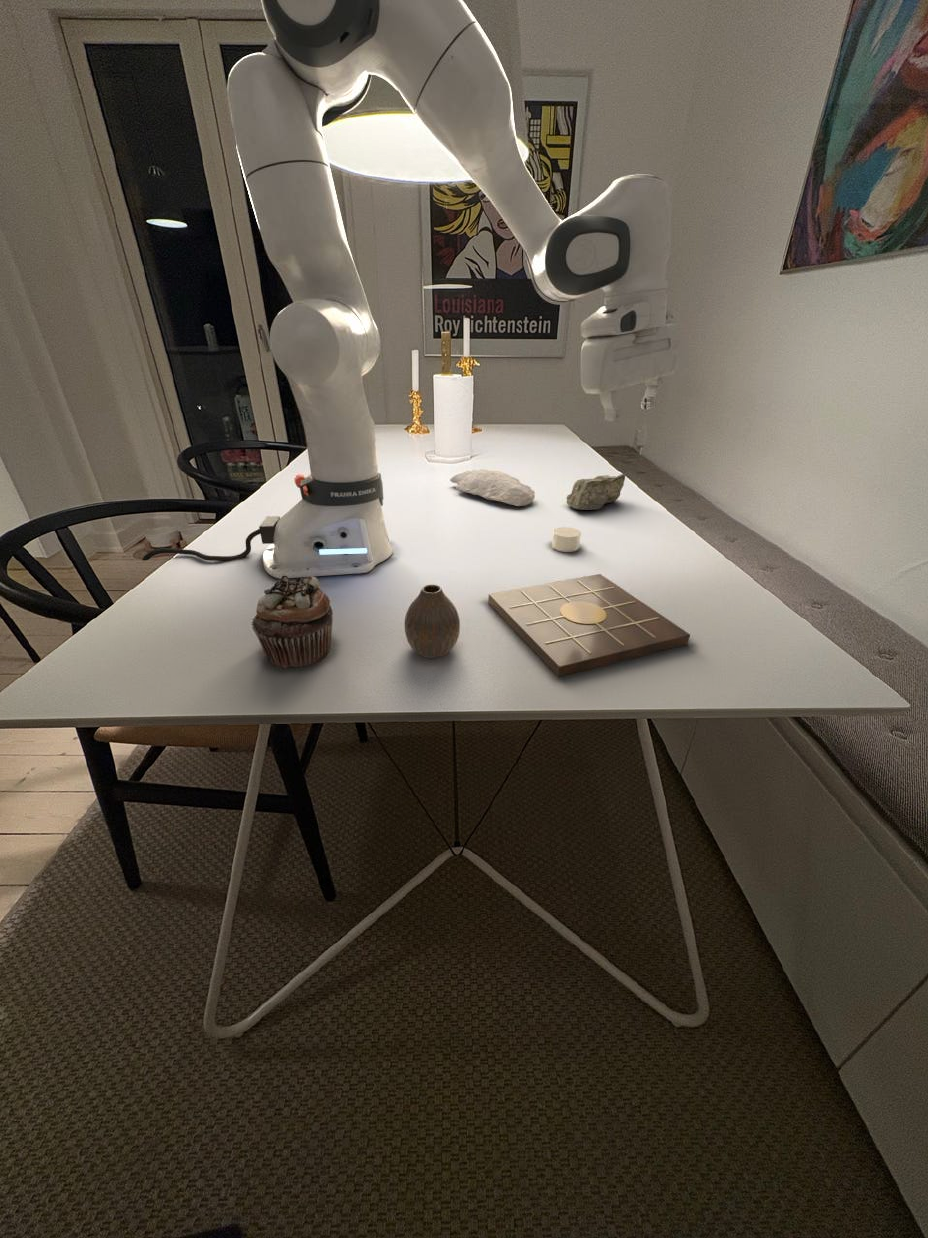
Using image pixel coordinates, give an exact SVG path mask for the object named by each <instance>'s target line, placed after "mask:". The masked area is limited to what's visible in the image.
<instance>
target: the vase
mask: <svg viewBox="0 0 928 1238" xmlns="http://www.w3.org/2000/svg"><path fill="white" fill-rule="evenodd" d="M460 621H461V619H460V617H459V612H458V609H457V608H456V606H455V604H454V603H453V602H452V600H450V599H449V597H448V596H447V595H446V594H445V592H444V591H443V588H442V587H441V586H440V585H437V584H427V585H424V586H423V587H421V589H420V592H419V594H418V595H417V596H416V598H415V599H413V601H412V602H411V603H410V605H409V606H408V608H407V611H406V614H405V617H404V633H405V637H406V641H407V643H408V645H409V646H410V648H411V649H412V650H413V651H414V652H415V653H417V654H418V655H419V656H422V657H424V658H428V659H436V658H437V659H438V658H441V657H443V656H445V655H447V654H449V652H451V651H452V649H453V648H454V647H455V645H456V644H457V643H458V639H459V636H460V631H461V630H460V628H461V622H460Z"/></svg>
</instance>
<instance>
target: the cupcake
mask: <svg viewBox="0 0 928 1238" xmlns="http://www.w3.org/2000/svg"><path fill="white" fill-rule="evenodd" d="M263 593H264V595H263V596H261V597H260V598H259V599H258V601H257V606H256V614H255V615H254V616H253V618H252V619H251V624H250V625H251V629H252V631H253V632H254V634H255V636H256V638H257V639H258V641H259V643H260V646H261V649H262V651H263V652H264V655H265V657H266V659H267V661H268V662H269V663H270V664H271V665H275V666H277V667H278V668H284V669H287V668H301V667H306V666H309V665H313V664H316V663H318V662H320V661H321V660H322V659H323V658H324V657H326V656H327V655H328V653H329V650H330V648H331V645H332V630H333V621H334V617H333V614H334V612H333V609H332V606H331V600H330V598H329V596H328V595H327V594H326V593H325V592H324V591H323V590H322V589H321V588H320V582H319V579H318V578H317V576H313V577H310V576H309V577H298V578H296V580H295V581H291V580H290V578H288V577H287V576H282V577H281V579H279V580H278V581H276V582H275V583H274V584H273V585H272V586H271V588H269V589H264V592H263Z"/></svg>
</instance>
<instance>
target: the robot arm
mask: <svg viewBox="0 0 928 1238" xmlns="http://www.w3.org/2000/svg"><path fill="white" fill-rule="evenodd" d="M260 2H261V6H262V7H261V8H262V10H263V14H264V17H265V21H266V22H267V26H268V27H269V30H270V32H271V33H272V36H273V38H270V40H269V43H268V45H267V46H265V48H264V49H263V50H261V52H255V53H254V52H253V53H250V54H248V55H246V56H244V57H242V58H241V59H239V60H238V61H237V62H236V63H235V64H234V65H233V66H232V68H231V70H230V72H229V74H228V79H227V98H228V106H229V111H230V118H231V125H232V130H233V131H232V132H233V135H234V136H233V137H234V140H235V145H236V150H237V154H238V159H239V164H240V166H241V167H240V168H241V171H242V174H243V178H244V182H245V185H246V188H247V191H248V195H249V199H250V202H251V205H252V209H253V212H254V216H255V219H256V222H257V226H258V229H259V233H260V236H261V239H262V244H263V246H264V250H265V253H266V255H267V257H268V260H269V261H270V263H271V264H272V266H274V268H275V269H276V271H277V273H278V275H279V276H280V278H281V280H282V282H283V283H284V286H285V288H286V290H287V292H288V294H289V296H290V299H291V300H292V303H290V304H288V305H287V306H286V307H284V308H283V309H282V310H280V311H279V312H278V313H277V315H276V316H275V318H274V319H273V321H272V323H271V327H270V331H269V346H270V350H271V354H272V357H273V359H274V362H275V363H276V365H277V367H278V368H279V369H280V370H281V372H282V373H283V374H284V376H285V377H286V379H287V381H288V383H289V386H290V390H291V393H292V395H293V399H294V401H295V403H296V407H297V409H298V412H299V416H300V419H301V423H302V426H303V430H304V435H305V436H304V437H305V443H306V449H307V455H308V463H309V469H310V474H309V475H308V476H305V475H304V474H299V473H298V474H297V475H295V477H294V485H295V486H296V487H297V488H298V489H299V492H300V496H301V499H300V500H299V501H298V502H297V503H296V504H295V505H294V506H292V508H290V509H289V510H288V511H287V512H286V513H285V514H283V515H282V516H281V517H280V515H277V516H271V515H270V516H269V515H268V516H266V517H265V518H264V519H263V521H262V522H261V523H260V525H258V526H259V527H258V529H256V530H254V531H252V532H250V533H249V534H248V535H247V537H246V538H245V550H244V551H243V552H241V553H239V554H237V555H225V556H224V555H207V554H204V553H201V552H200V551H197V550H194V549H193V550H192V549H184V548H172V547H171V548H170V547H161V548H156V549H152V550H151V551H148V552H147V553H146V554H144V556H143V557H142V559H141V561H149V560H150V559H151V558H152V557H154V556H157V555H160V554H177V555H178V554H179V555H189V556H194V557H197V558H199V559H201V560H204V561H209V562H231V561H235V560H240V559H244V558H246V557H247V556H249V554H251V552H252V544H251V542H252V540H253V539H254V538H255V537H257V536H259V535H260V539H261V544H262V545H268V544H269V546H268V547H266V548H265V550H264V551H263V554H262V562H263V563H262V564H263V567H264V568H263V569H264V570H265V572H266V573H267V574H269V576H272V577H274V578H276V579H279V580H281V577H282V576H287V577H288V578H289V579H299V578H304V577H306V578H308V577H309V576H310V577H326V576H339V575H356V574H367V573H369V572H371V571H372V570H373V569H374V568H375V567H376V566H377V565H378V564H380V563H382V562H384V561H385V560H387V559H388V558H390V557H391V556H392V554H393V551H394V548H393V546H392V543H391V541H390V538H389V533H388V531H387V527H386V522H385V517H384V512H383V505H384V486H383V480H382V474H381V473H380V472H379V463H378V449H377V448H378V447H377V435H376V423H375V422H374V421H375V420H374V419H373V418H372V416H371V411H370V409H369V405H368V401H367V397H366V393H365V387H364V383H363V377H364V376H365V375H366V374H368V373H369V372H370V371H371V370H372V368H373V367H374V366H375V364H376V362H377V360H378V358H379V355H380V351H381V335H380V332H379V329H378V327H377V325H376V323H375V321H374V317H373V316H372V312H371V309H370V306H369V302H368V299H367V296H366V293H365V290H364V287H363V284H362V281H361V278H360V275H359V273H358V272H359V271H358V270H357V267H356V265H355V262H354V258H353V255H352V252H351V248H350V247H349V243H348V240H347V235H346V231H345V227H344V223H343V219H342V214H341V210H340V206H339V201H338V198H337V197H338V196H337V193H336V188H335V183H334V180H333V175H332V171H331V166H330V162H329V157H328V154H327V150H326V149H327V148H326V144H325V140H324V134H323V127H326V126H328V125H330V124H331V123H332V122H334V121H335V120H336V119H338V118H339V117H341V116H343V115H345V114H347V113H349V112H351V111H352V110H354V109H355V108H357V107H358V106H359V105H360V104H361V103H362V101H363V100H364V99H365V97H366V95H367V93H368V92H369V89H370V87H371V82H372V77H373V75H374V76H377V77H378V78H381V79H383V80H385V81H386V82H388V83H389V84H390V85H391V86H392V87H393V88H394V89H395V90H396V91H398V92H399V94H400V95H401V97H402V98H403V100H404V102H405V103H406V104H407V106H408V107H409V109H410V111H412V113H413V114H414V116H415V118H417V120H418V121H419V123H420V124H421V125H422V126H423V128H424V129H425V130H426V131H427V133H428V134H429V135H430V136H431V138H432V139H433V140H434V141H435V142H436V144H437V145H439V147H440V148H441V149H442V150H443V151H444V152H445V153H446V154H447V155H448V157H450V159H451V160H452V161H453V162H455V163H456V164H457V166H459V168H460V169H461V170H462V171H463V172H464V173H465V174H466V175H467V176H468V177H469V178H470V180H471V181H472V182H473V183H474V184H475V185H476V186H477V187H478V188H479V189H480V190H481V192H482V193H483V194H484V195H485V197H487V200H488V201H489V202H490V204H491V205H492V206H493V208H494V209H495V211H496V212H497V214H498V215H499V217H500V218H501V220H502V221H503V222H504V224H505V225H506V227H507V229H508V231H509V232H510V233H511V235H512V236H513V237H514V239H515V240H516V242H517V243H518V245H519V246H520V248H521V250H522V251H523V255H524V257H525V259H526V263H527V267H528V272H529V277H530V280H531V283H532V286H533V288H534V290H535V292H536V293H537V294H538V296H539V297H540V298H542V299H543V300H544V301H545V302H548V303H550V304H553V305H557V306H558V305H568V304H571V303H573V302H575V301H576V300H578V299H580V298H583V297H586V296H588V295H591V294H592V293H593V292H595V291H596V290H600V289H601V290H602V291H603V293H604V295H603V296H604V300H603V304H604V305H603V306H601V307H600V308H599V309H597V310H596V311H595V312H593V313H592V314H591V315H590V316H589V317H586V318H585V319H584V320H583V321H582V322H581V324H580V335H581V337H582V338H584V339H585V338H586V339H585V340H584V342H583V343H582V345H581V352H580V384H581V388H582V390H583V391H584V393H585V394H588V395H591V394H592V395H599V400H600V403H601V405H602V407H603V409H604V420H605V421H606V422H614V421H617V420H619V419H620V418H621V417H620V415H621V414H620V413H621V411H620V410H621V408H620V407H617V404H616V400H615V398H617V393H618V391H617V390H619V389H624V388H627V387H631V386H634V385H638V384H641V383H645V386H646V389H645V393H644V396H643V397H641V399H640V402H641V404H640V408H641V409H642V410H651V409H654V408H655V407H656V403H657V396H658V393H659V391H660V389H661V387H662V382H663V381H662V380H663V377H667V376H670V375H671V376H672V375H674V374H675V373H676V371H677V369H678V366H679V357H680V356H679V354H680V353H679V351H680V350H679V349H680V346H679V339H680V337H679V329H678V327H677V325H676V318H675V317H674V316H673V314H672V311H670V310H667V306H668V290H669V289H668V288H669V284H668V278H667V265H668V260H669V258H670V254H671V244H672V199H671V191H670V187H669V185H668V183H667V182H666V181H665V180H664V179H662V178H660V177H659V176H658V175H657V176H656V175H652V174H645V173H637V174H631V175H625V176H621V177H619V178H617V179H615V180H614V181H613V182H612V183H611V185H610V186H608V188H607V189H606V190H605V191H604V192H603V193H601V194H600V195H599V196H598V197H597V198H596V199H595V200H594V201H592V202H591V203H589V204H588V205H587V206H585V207H584V208H582V209H581V210H579V211H577V212H576V213H574V214H572V215H570V216H568V217H566V218H564V219H563V220H562V219H561V218H560V217H559V216H558V215H557V214H556V213H555V211H554V209H553V208H552V206H551V205H550V204H549V202H548V200H547V199H546V197H545V195H544V194H543V192H542V191H541V189H540V187H539V185H538V184H537V183H536V181H535V180H534V178H533V176H532V175H531V173H530V171H529V170H528V168H527V166H526V164H525V162H524V159H523V157H522V154H521V151H520V148H519V147H520V146H519V145H518V140H517V139H518V138H517V134H516V127H515V118H514V108H513V107H514V105H513V96H512V94H513V93H512V88H511V85H510V81H509V80H508V77H507V75H506V73H505V70H504V68H503V65H502V63H501V61H500V59H499V56H498V54H497V52H496V50H495V48H494V47H493V45H492V43H491V41H490V40H489V38H488V36H487V35H486V33H485V32H484V30H483V29H482V27H481V25H480V24H479V22H478V21H477V19H476V17H475V16H474V15H473V13H472V12H471V10H470V9H469V8H468V6H467V4H466V3H465V2H464V0H260Z"/></svg>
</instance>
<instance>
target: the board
mask: <svg viewBox="0 0 928 1238" xmlns="http://www.w3.org/2000/svg"><path fill="white" fill-rule="evenodd" d="M487 600H488V602H487V603H488V604H489V605H490V606H491V607H492V609H494V611H496V613H497V614H498V615H499V616H500V617H501V618H502V619H503V620H504V621H505V622H506V623H507V624H508V626H510V628H512V630H514V632H515V633H516V634H517V635H518V636H519V637H520V638H521V639H522V640H523V641H524V642H525V644H527V645H528V646H529V648H530V649H531V650H532V651H533V652H534V653H535V654H536V655H537V656H538V657H539V659H541V660H542V661H543V663H545V665H546V666H547V667H548V668H549V669H550V670H551V671H552V672H553V673H554V674H555V675H556V676H557V678H558V677H564V676H567V675H571V674H575V673H579V672H583V671H587V670H591V669H595V668H599V667H602V666H603V667H604V666H607V665H610V664H614V663H618V662H623V661H626V660H627V661H628V660H630V659H634V658H638V657H642V656H646V655H650V654H654V653H658V652H662V651H665V650H670V649H674V648H677V647H682V646H686V645H688V644H689V642H690V638H691V634H690V633H689V632H688V631H686V630H685V629H683V628H681V627H680V626H679V625H677V624H675V623H674V622H673V621H671V620H669V619H668V618H666V617H665V616H663V614H660V613H659V612H658V611H656V610H655V609H653V608H652V607H650V606H648V605H647V604H646V603H644V602H643V601H641V600H639V599H638V598H637V597H635V596H634V595H632V594H631V593H629V592H628V591H626V590H625V589H623V588H621V587H620V586H619V585H617V584H616V583H614V582H613V581H612V580H610V579H609V578H607V577H605V576H604V575H603V574H601V573H598V574H592V575H587V576H580V577H575V578H570V579H565V580H559V581H554V582H548V583H542V584H536V585H531V586H525V587H520V588H515V589H509V590H503V591H498V592H493V593H488V599H487Z"/></svg>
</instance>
